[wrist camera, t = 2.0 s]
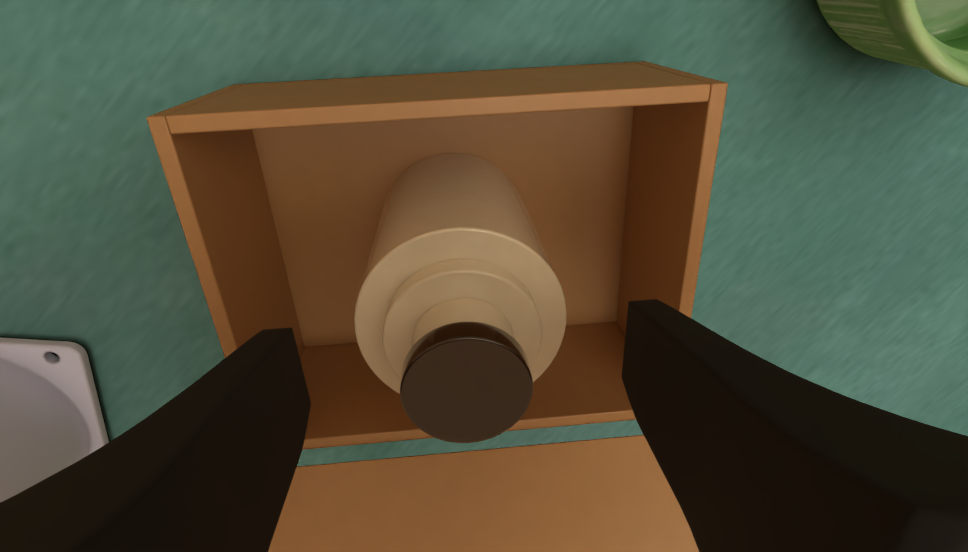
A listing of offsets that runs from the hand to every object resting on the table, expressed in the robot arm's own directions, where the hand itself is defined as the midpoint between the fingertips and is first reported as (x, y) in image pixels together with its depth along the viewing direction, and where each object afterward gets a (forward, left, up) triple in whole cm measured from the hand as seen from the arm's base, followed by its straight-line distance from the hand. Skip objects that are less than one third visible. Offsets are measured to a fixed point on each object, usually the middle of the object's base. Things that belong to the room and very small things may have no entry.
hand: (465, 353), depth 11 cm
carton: (0, 0, -8) cm, 8 cm away
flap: (+1, -6, 0) cm, 6 cm away
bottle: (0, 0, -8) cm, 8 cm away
